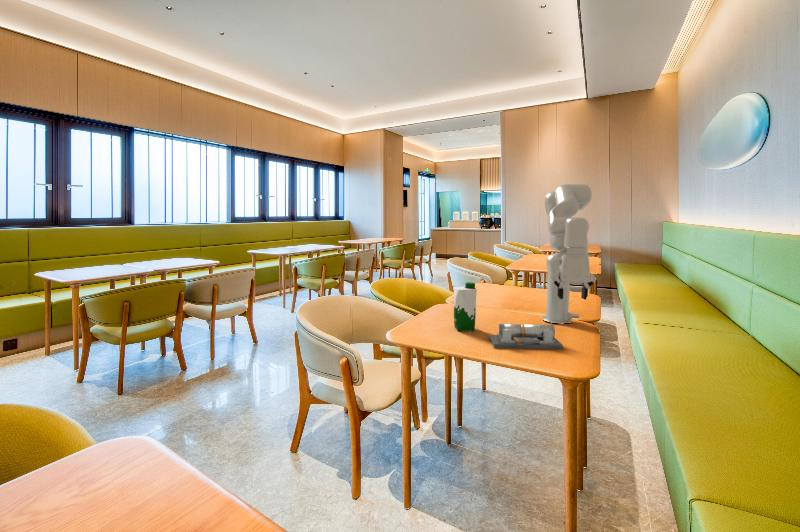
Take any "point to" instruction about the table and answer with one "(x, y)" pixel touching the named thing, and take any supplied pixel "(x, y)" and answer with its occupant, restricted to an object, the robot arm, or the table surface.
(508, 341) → the cylinder mounting fixture
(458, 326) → the milk carton
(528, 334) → the banded metal cylinder
